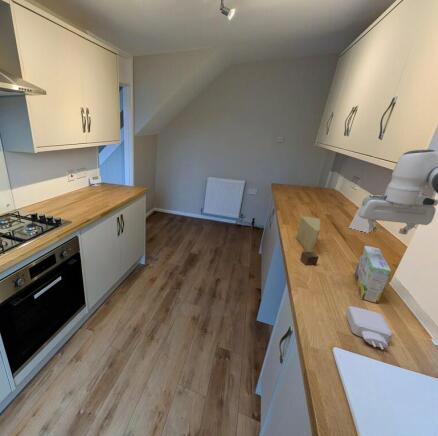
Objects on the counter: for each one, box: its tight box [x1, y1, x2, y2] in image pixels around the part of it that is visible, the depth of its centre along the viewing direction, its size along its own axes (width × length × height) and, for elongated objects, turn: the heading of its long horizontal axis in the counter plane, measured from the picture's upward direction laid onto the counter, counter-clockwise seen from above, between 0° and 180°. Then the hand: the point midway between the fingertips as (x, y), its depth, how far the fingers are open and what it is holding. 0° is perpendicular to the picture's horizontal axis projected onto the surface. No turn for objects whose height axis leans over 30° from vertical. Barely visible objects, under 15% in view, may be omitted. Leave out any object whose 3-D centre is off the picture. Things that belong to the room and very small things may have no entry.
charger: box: [345, 305, 394, 350], centre depth 76 cm, size 5×9×15 cm
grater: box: [348, 201, 376, 234], centre depth 157 cm, size 10×10×20 cm
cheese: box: [295, 216, 322, 253], centre depth 132 cm, size 22×10×15 cm, turn 154°
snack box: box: [354, 245, 392, 304], centre depth 98 cm, size 21×6×15 cm, turn 147°
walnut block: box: [299, 251, 319, 267], centre depth 118 cm, size 5×5×5 cm
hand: (386, 232), depth 89 cm, fingers open, 8 cm apart
